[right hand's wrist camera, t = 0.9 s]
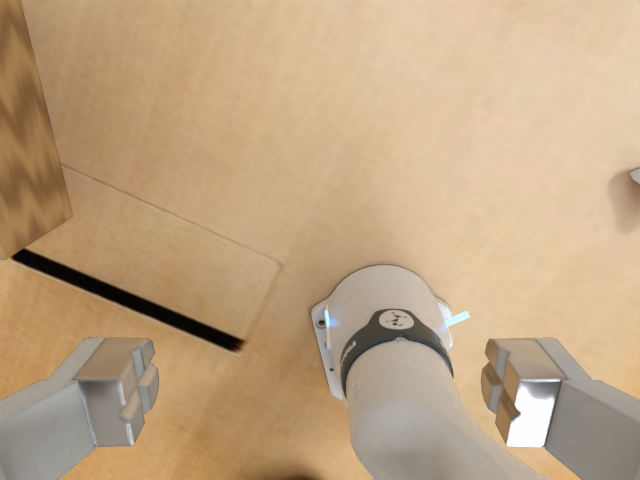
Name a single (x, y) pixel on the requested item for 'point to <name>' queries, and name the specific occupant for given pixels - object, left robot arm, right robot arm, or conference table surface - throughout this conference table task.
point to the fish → (635, 175)
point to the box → (25, 143)
